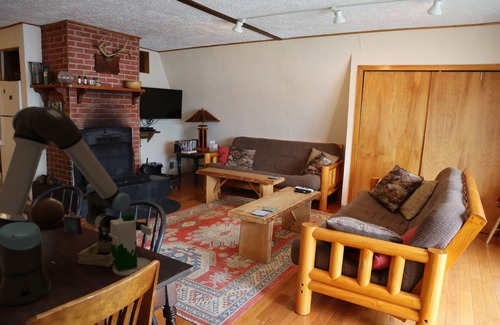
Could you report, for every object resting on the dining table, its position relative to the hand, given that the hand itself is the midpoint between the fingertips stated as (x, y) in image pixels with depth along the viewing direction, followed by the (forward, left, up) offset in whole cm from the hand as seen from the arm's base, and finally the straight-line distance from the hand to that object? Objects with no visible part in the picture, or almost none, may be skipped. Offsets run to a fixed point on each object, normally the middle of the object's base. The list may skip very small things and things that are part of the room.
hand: (134, 236), depth 135 cm
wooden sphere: (+34, +69, -14) cm, 78 cm away
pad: (+2, +3, -13) cm, 14 cm away
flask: (+28, +50, -14) cm, 59 cm away
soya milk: (-1, +4, -12) cm, 13 cm away
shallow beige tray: (+7, +19, -13) cm, 24 cm away
